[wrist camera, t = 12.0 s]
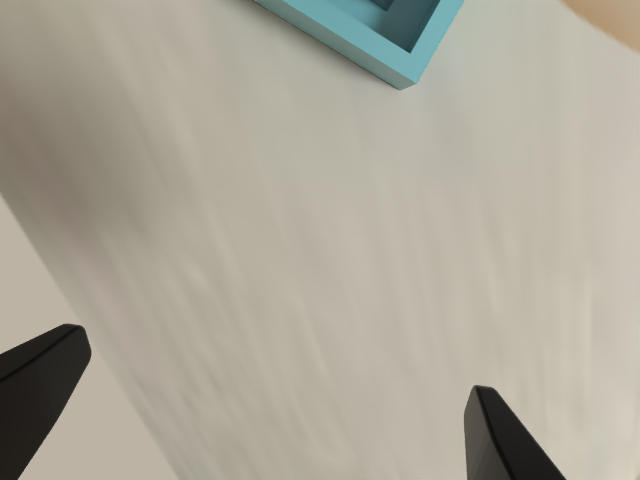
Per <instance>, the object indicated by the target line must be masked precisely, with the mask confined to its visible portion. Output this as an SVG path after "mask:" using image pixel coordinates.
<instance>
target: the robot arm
mask: <svg viewBox="0 0 640 480" xmlns="http://www.w3.org/2000/svg"><path fill="white" fill-rule="evenodd" d="M90 358H91V348H90V344H89V341H88V337H87V334H86V331H85V329H84V328H83V327H82V326H80V325H74V324H63V325H60V326H58V327H56V328H54V329H52V330H50V331H48V332H46V333H44V334H42V335H39V336H37V337H35V338H33V339H31V340H29V341H27V342H25V343H23V344H21V345H19V346H16V347H14V348H12V349H10V350H8V351H6V352H4V353H2V354H0V480H18V478H19V477H20V475H21V474H22V472H23V471H24V469H25V468H26V466H27V465H28V463H29V462H30V460H31V459H32V458H33V456H34V454H35V453H36V451H37V450H38V448H39V447H40V446H41V444H42V443H43V441H44V439H45V438H46V436H47V435H48V434H49V432H50V431H51V429H52V427H53V426H54V424H55V423H56V421H57V420H58V418H59V416H60V414H61V413H62V411H63V409H64V407H65V406H66V404H67V402H68V400H69V398H70V396H71V394H72V393H73V391H74V389H75V387H76V385H77V383H78V382H79V380H80V378H81V376H82V374H83V372H84V370H85V369H86V367H87V365H88V363H89V361H90ZM464 431H465V448H466V465H467V480H566V478H565V477H564V476H563V475H562V473H561V472H560V471H559V469H558V468H557V467H556V466H555V464H554V463H553V462H552V461H551V459H550V458H549V457H548V456H547V454H546V453H545V452H544V450H543V449H542V448H541V447H540V445H539V444H538V443H537V442H536V440H535V439H534V438H533V436H532V435H531V434H530V433H529V431H528V430H527V429H526V428H525V426H524V425H523V424H522V423H521V421H520V420H519V419H518V417H517V416H516V415H515V414H514V412H513V411H512V410H511V409H510V407H509V406H508V405H507V403H506V402H505V401H504V400H503V398H502V397H501V396H500V395H499V393H498V392H497V391H496V390H495V389H494V388H492V387H487V386H480V385H475V386H473V388H472V390H471V393H470V396H469V399H468V402H467V405H466V408H465V412H464Z"/></svg>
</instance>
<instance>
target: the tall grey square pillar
mask: <svg viewBox="0 0 640 480" xmlns="http://www.w3.org/2000/svg"><path fill="white" fill-rule="evenodd" d="M370 1H372V2H373V3H375V4H376V5H378V6H379V7H381V8H382V9H383V10H385V11H386V12H387V10H388V9H389V7H390V6H391V5H392V3H393V2H394V0H370Z"/></svg>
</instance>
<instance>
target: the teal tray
mask: <svg viewBox="0 0 640 480" xmlns="http://www.w3.org/2000/svg"><path fill="white" fill-rule="evenodd" d="M253 1H255V2H257V3H258V4H260V5H262V6H263V7H265V8H266V9H268V10H270V11H271V12H273V13H275V14H276V15H278V16H279V17H281V18H283V19H284V20H286V21H288V22H289V23H291V24H293V25H294V26H296V27H297V28H299V29H301V30H302V31H304V32H306V33H307V34H309V35H311V36H312V37H314V38H315V39H317V40H319V41H320V42H322V43H324V44H325V45H327V46H329V47H330V48H332V49H333V50H335V51H337V52H338V53H340V54H342V55H343V56H345V57H346V58H348V59H350V60H351V61H353V62H355V63H356V64H358V65H360V66H361V67H363V68H364V69H366V70H368V71H369V72H371V73H373V74H374V75H376V76H378V77H379V78H381V79H382V80H384V81H386V82H387V83H389V84H391V85H392V86H394V87H395V88H397V89H399V90H402V89H405V88H407V87H410V86H412V85H414V84H417V82H418V80H419V78H420V77H421V75H422V73H423V72H424V70H425V68H426V66H427V65H428V63H429V61H430V59H431V58H432V56H433V54H434V52H435V51H436V49H437V47H438V46H439V44H440V42H441V40H442V39H443V37H444V35H445V33H446V32H447V30H448V28H449V26H450V25H451V23H452V21H453V20H454V18H455V16H456V14H457V13H458V11H459V9H460V7H461V6H462V4H463V2H464V0H394V2H393V3H392V5H391V6H390V7H389V9H388V10H387V12H386V11H385V10H383V9H382V8H381V7H379V6H378V5H376V4H375V3H373V2H372V1H370V0H253Z"/></svg>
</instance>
